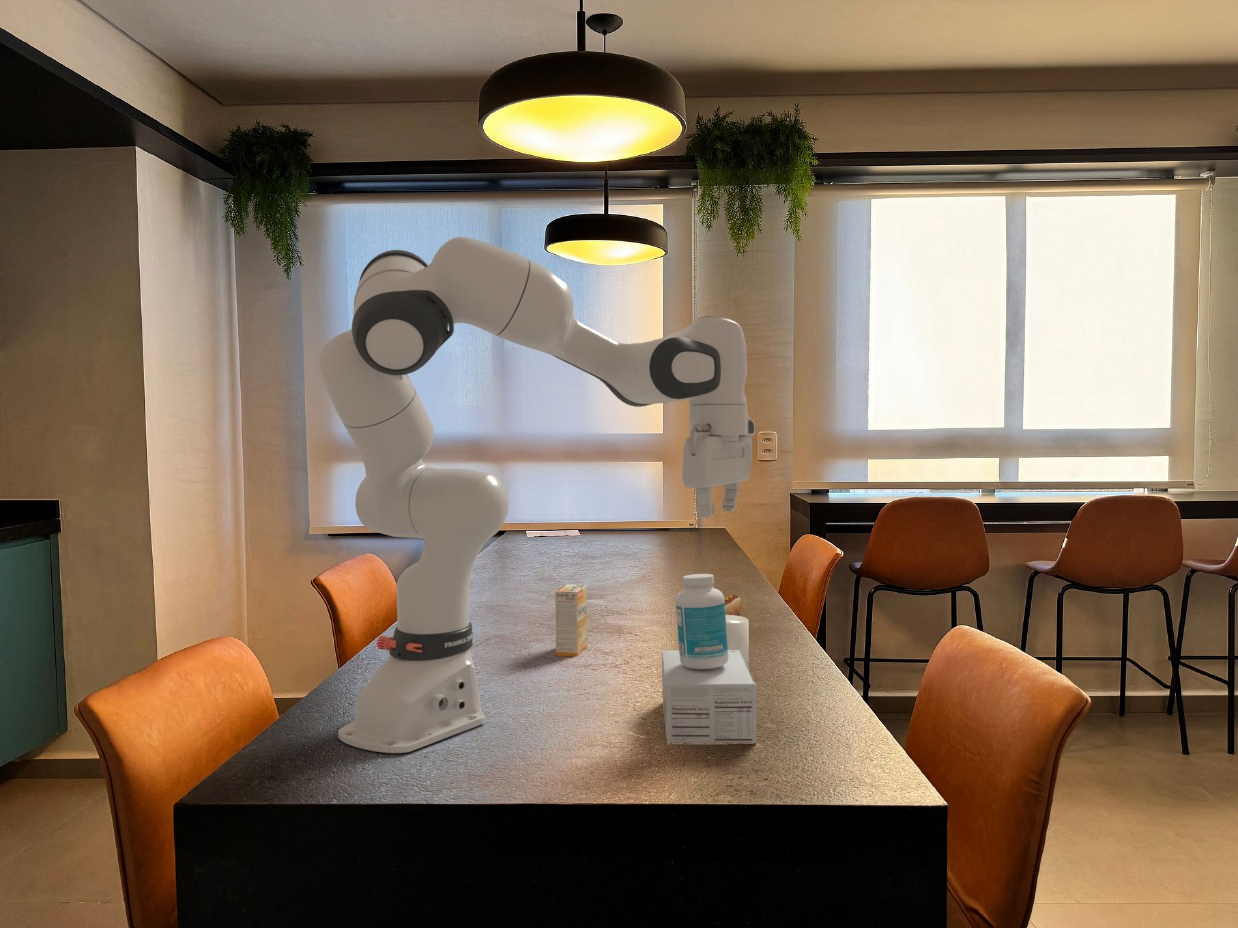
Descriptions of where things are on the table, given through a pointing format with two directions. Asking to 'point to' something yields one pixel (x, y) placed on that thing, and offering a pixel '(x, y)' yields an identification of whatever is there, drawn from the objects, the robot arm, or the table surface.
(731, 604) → the food
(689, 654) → the pill bottle
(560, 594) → the supplement box
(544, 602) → the table surface
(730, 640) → the white rounded cylinder
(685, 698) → the supplement box
